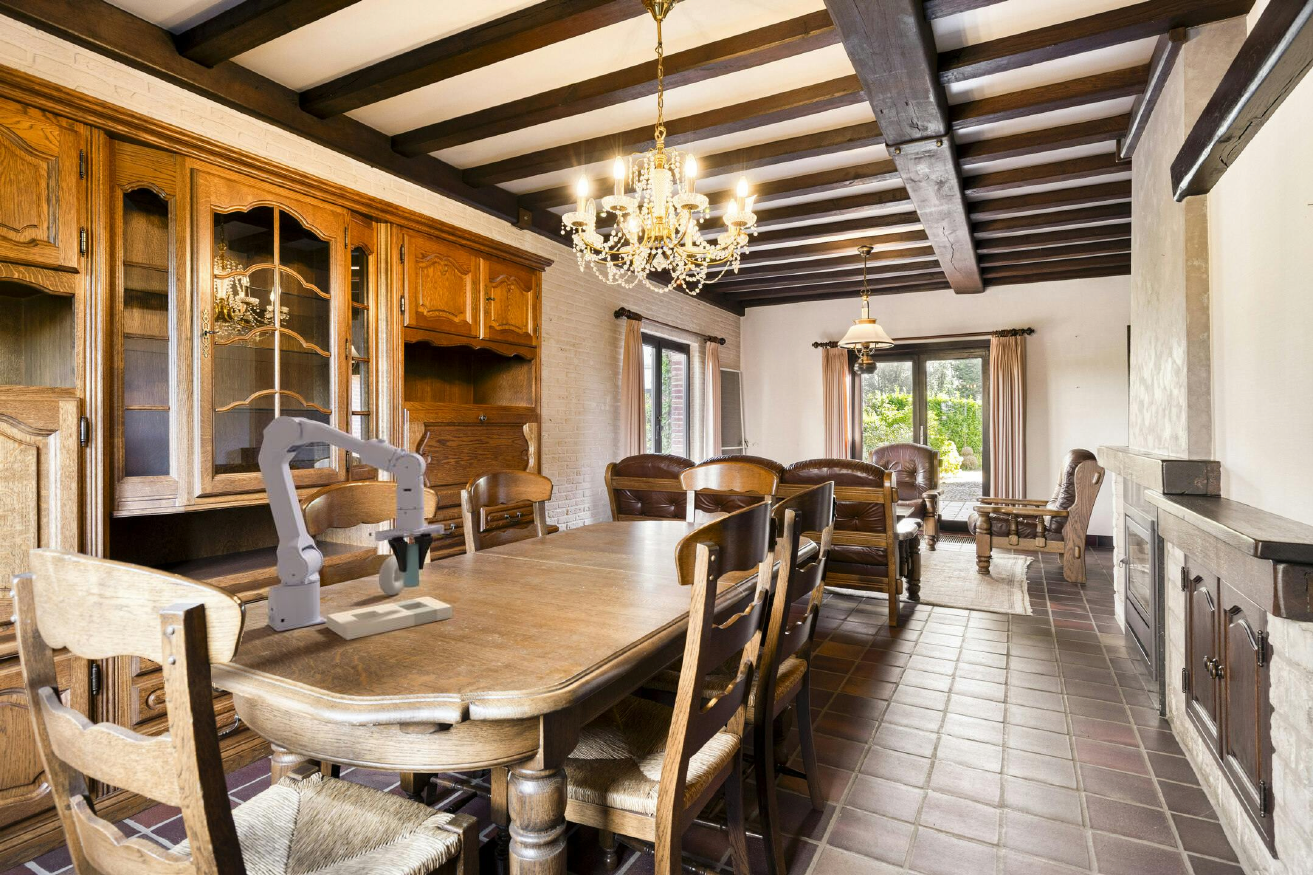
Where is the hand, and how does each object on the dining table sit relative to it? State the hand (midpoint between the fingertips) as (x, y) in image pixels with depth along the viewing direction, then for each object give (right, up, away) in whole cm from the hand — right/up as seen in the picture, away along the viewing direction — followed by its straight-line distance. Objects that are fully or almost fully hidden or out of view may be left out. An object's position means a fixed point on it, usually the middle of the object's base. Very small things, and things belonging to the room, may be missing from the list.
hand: (411, 570), depth 143 cm
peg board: (-3, -11, -3) cm, 11 cm away
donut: (-12, -11, +21) cm, 26 cm away
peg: (0, -3, 0) cm, 3 cm away
